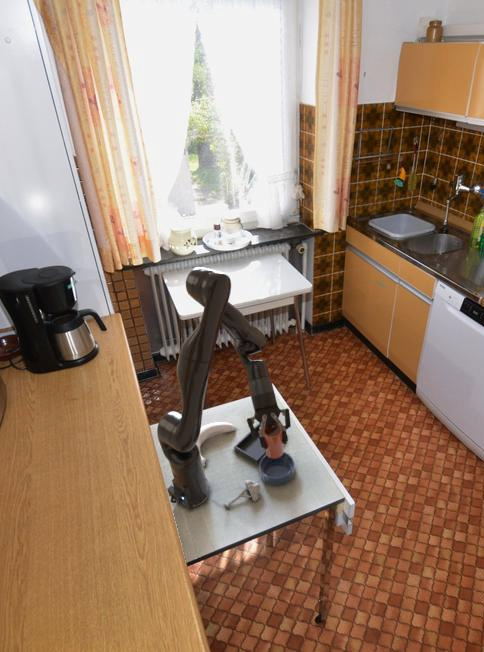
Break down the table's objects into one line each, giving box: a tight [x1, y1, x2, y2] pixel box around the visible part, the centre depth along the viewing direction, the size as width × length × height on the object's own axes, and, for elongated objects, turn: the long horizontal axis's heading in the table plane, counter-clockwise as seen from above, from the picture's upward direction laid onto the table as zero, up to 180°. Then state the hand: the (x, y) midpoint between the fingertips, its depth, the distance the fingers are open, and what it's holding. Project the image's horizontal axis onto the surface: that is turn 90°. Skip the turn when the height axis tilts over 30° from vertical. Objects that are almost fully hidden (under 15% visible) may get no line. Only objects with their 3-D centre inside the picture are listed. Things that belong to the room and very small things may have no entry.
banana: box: [196, 421, 236, 467], centre depth 156 cm, size 5×19×15 cm
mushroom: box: [224, 479, 261, 509], centre depth 136 cm, size 7×5×12 cm
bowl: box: [258, 451, 295, 487], centre depth 144 cm, size 11×11×4 cm
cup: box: [263, 424, 285, 459], centre depth 137 cm, size 6×6×10 cm
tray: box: [233, 422, 266, 466], centre depth 155 cm, size 15×11×2 cm
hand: (275, 446), depth 136 cm, fingers closed on cup, 6 cm apart
